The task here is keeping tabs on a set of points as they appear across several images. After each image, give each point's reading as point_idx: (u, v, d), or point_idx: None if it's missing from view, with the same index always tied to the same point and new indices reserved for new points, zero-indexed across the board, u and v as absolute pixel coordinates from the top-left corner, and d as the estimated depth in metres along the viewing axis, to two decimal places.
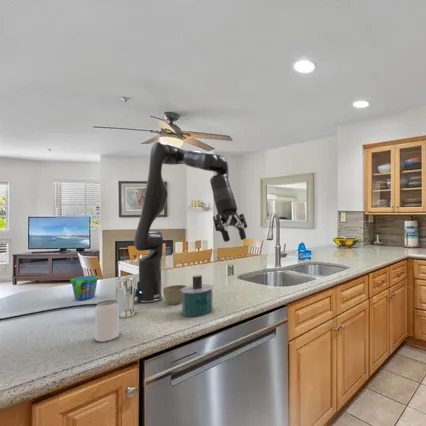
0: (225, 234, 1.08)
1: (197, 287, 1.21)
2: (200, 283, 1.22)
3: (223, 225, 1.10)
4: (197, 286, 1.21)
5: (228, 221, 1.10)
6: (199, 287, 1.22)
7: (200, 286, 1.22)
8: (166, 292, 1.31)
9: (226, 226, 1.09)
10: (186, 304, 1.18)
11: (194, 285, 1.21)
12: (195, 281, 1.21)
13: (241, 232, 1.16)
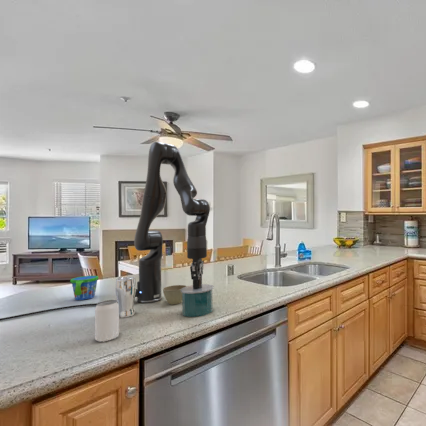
0: (197, 283, 1.20)
1: None
2: (200, 283, 1.22)
3: None
4: None
5: (200, 269, 1.21)
6: (199, 287, 1.22)
7: (200, 286, 1.22)
8: (166, 292, 1.31)
9: None
10: (186, 304, 1.18)
11: None
12: None
13: None
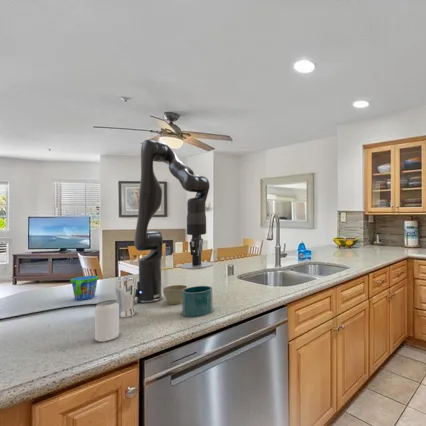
0: (197, 259, 1.20)
1: None
2: (199, 260, 1.22)
3: None
4: None
5: (199, 246, 1.21)
6: None
7: (199, 263, 1.22)
8: (166, 292, 1.31)
9: (198, 251, 1.21)
10: (186, 304, 1.18)
11: None
12: None
13: None
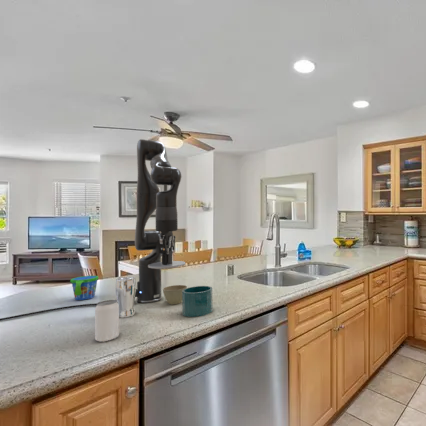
0: (166, 257, 1.11)
1: None
2: (170, 258, 1.12)
3: None
4: None
5: (170, 243, 1.12)
6: (169, 263, 1.12)
7: (170, 262, 1.12)
8: (166, 292, 1.31)
9: (168, 249, 1.11)
10: (186, 304, 1.18)
11: None
12: None
13: None
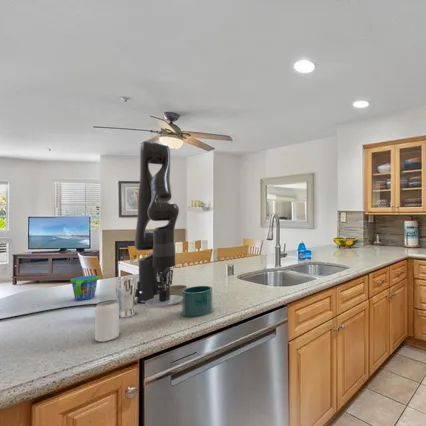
0: (164, 294, 1.10)
1: None
2: (167, 295, 1.12)
3: None
4: None
5: (167, 280, 1.11)
6: (166, 299, 1.11)
7: (167, 298, 1.12)
8: None
9: (165, 286, 1.10)
10: (186, 304, 1.18)
11: None
12: None
13: None
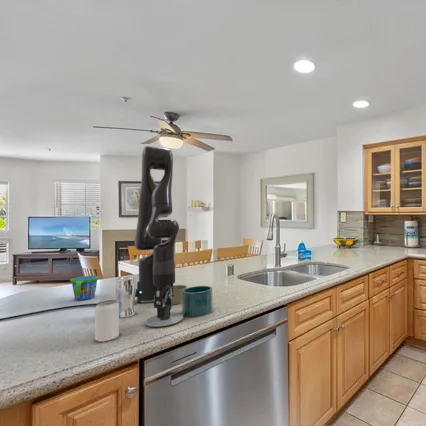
0: (161, 311, 1.08)
1: (164, 318, 1.11)
2: (168, 313, 1.12)
3: None
4: (164, 317, 1.11)
5: (166, 297, 1.10)
6: (166, 318, 1.11)
7: (168, 317, 1.12)
8: None
9: (164, 302, 1.09)
10: (186, 304, 1.18)
11: None
12: None
13: (168, 303, 1.16)
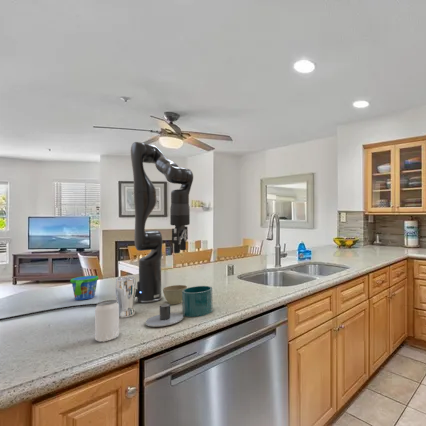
0: (178, 247, 1.22)
1: (164, 318, 1.11)
2: (168, 313, 1.12)
3: (177, 238, 1.22)
4: (164, 317, 1.11)
5: (182, 235, 1.24)
6: (166, 318, 1.11)
7: (168, 317, 1.12)
8: (166, 292, 1.31)
9: (180, 240, 1.23)
10: (186, 304, 1.18)
11: (161, 316, 1.11)
12: (162, 311, 1.11)
13: (183, 243, 1.30)
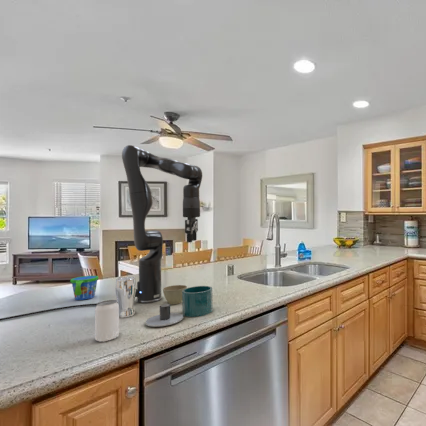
0: (190, 237, 1.34)
1: (164, 318, 1.11)
2: (168, 313, 1.12)
3: (189, 228, 1.34)
4: (164, 317, 1.11)
5: (194, 226, 1.36)
6: (166, 318, 1.11)
7: (168, 317, 1.12)
8: (166, 292, 1.31)
9: (192, 230, 1.35)
10: (186, 304, 1.18)
11: (161, 316, 1.11)
12: (162, 311, 1.11)
13: (194, 234, 1.42)
